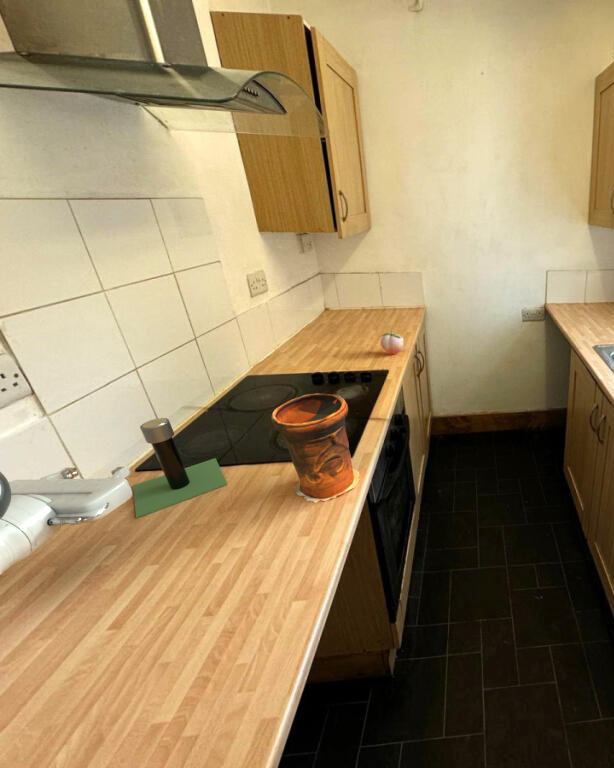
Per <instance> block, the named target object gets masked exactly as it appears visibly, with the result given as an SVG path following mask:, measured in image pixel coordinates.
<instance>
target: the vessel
mask: <svg viewBox="0 0 614 768" xmlns="http://www.w3.org/2000/svg"><path fill="white" fill-rule="evenodd" d="M348 413H349V405H348V402H347V401H346V400H345V399H344V398H343V397H342V396H340V395H339V394H338V395H337V394H329V393H319V392H317V393H316V392H315V393H309V394H304V395H301V396H299V397H295V398H293V399H290V400H288V401H286V402H284V403H283V404H281V405H280V406H278V407H276V408H275V409H274V411H273V412H272V414H271V416H270V417H271V418H270V419H271V423H272V425H273V427H274V428H275V429H276V430H277V431H278V433H280V435H281V436H282V438H283V439H284V440H285V444H286V447H287V449H288V453H289V455H290V458H291V461H292V465H293V467H294V469H295V472H296V474H297V477H298V478H297V479H298V482H297V485H295V486H294V487H293V488H292V490H293V491H294V493H295V494H296V495H297V496H299V497H303V499H305V500H306V501H308V502H313V503H315V504H316V503H318V502H320V501H323V502H326V501H328V500H330V499H335V498H337V497H338V496H342V495H344V494H346V493H349V491H350V490H352V489H356V485H357V484H358V483H359V481H360V478H359V477H360V475H361V473H360V472H359V471H358V470H356V469H355V468H353V463H352V455H351V451H350V449H349V448H350V446H349V439H348V435H347V431H346V426H345V425H346V417H348Z"/></svg>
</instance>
